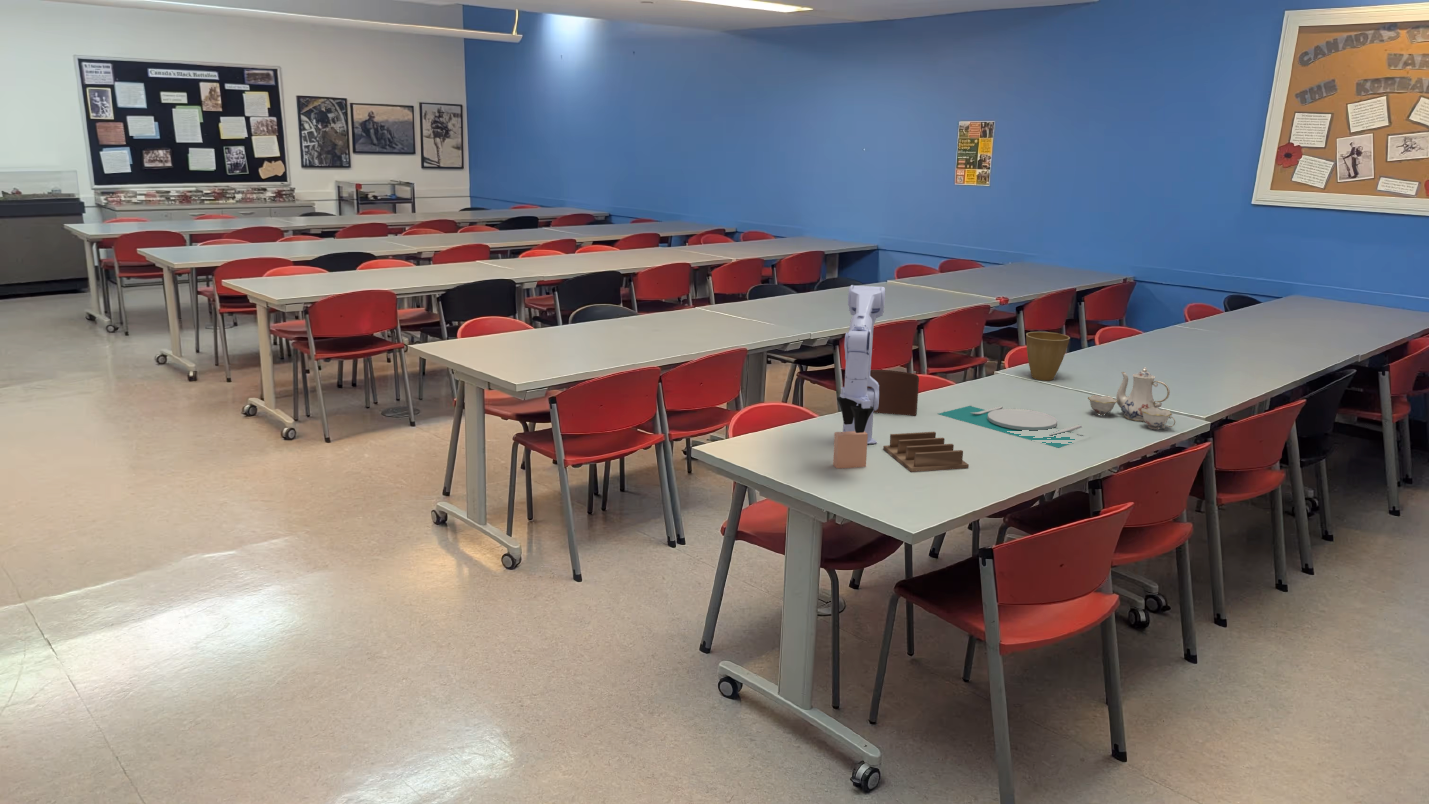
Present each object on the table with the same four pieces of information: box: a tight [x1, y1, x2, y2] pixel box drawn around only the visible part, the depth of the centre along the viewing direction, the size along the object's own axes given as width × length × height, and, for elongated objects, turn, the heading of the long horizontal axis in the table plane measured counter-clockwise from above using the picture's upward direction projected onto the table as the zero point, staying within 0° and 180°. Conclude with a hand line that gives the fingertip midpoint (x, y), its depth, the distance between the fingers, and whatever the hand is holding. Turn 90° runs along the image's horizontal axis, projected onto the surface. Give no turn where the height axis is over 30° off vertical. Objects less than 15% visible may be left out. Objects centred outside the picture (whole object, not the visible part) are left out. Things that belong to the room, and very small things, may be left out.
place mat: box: [938, 405, 1083, 449], centre depth 280 cm, size 45×30×2 cm
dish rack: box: [882, 431, 970, 473], centre depth 246 cm, size 19×16×4 cm
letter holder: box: [867, 369, 920, 417], centre depth 291 cm, size 10×20×14 cm, turn 77°
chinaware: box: [1087, 366, 1176, 430], centre depth 282 cm, size 28×17×17 cm, turn 42°
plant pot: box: [1025, 331, 1071, 382], centre depth 333 cm, size 15×15×16 cm
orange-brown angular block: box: [832, 431, 868, 469], centre depth 239 cm, size 3×8×9 cm, turn 102°
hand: (853, 428), depth 237 cm, fingers open, 7 cm apart
